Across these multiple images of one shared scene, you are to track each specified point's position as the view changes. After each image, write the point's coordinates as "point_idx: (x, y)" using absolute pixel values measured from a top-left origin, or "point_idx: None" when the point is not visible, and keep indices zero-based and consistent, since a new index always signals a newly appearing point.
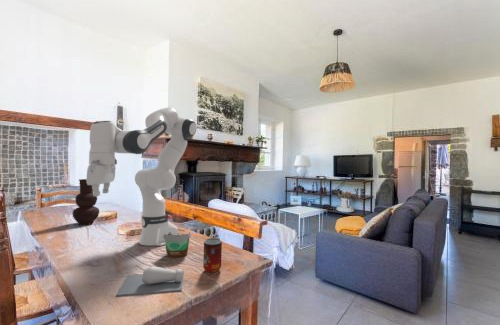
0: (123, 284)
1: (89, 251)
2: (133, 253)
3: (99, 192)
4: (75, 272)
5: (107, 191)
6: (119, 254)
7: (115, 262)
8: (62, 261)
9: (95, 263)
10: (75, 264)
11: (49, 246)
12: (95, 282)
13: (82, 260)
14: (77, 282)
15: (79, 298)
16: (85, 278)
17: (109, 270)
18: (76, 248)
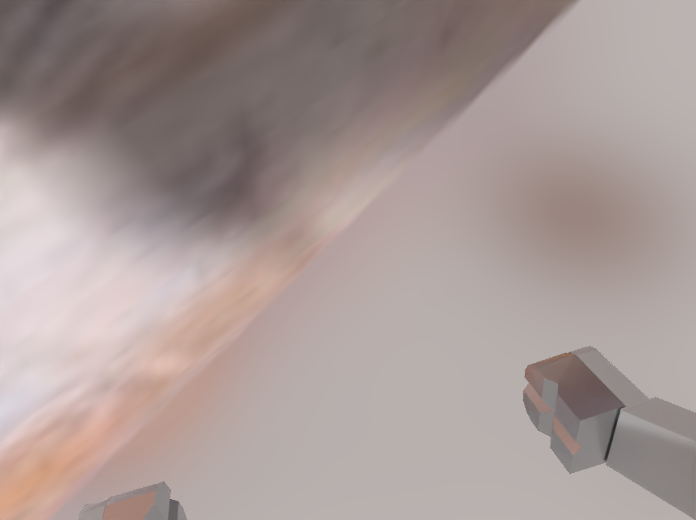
0: None
1: (75, 297)
2: (9, 11)
3: (592, 395)
4: (331, 187)
5: (139, 511)
6: (63, 106)
7: (195, 61)
8: (225, 315)
9: (226, 165)
10: (249, 245)
11: (74, 478)
12: (431, 31)
13: (200, 248)
14: (423, 114)
15: (553, 16)
16: (390, 104)
17: (305, 35)
18: (56, 377)
